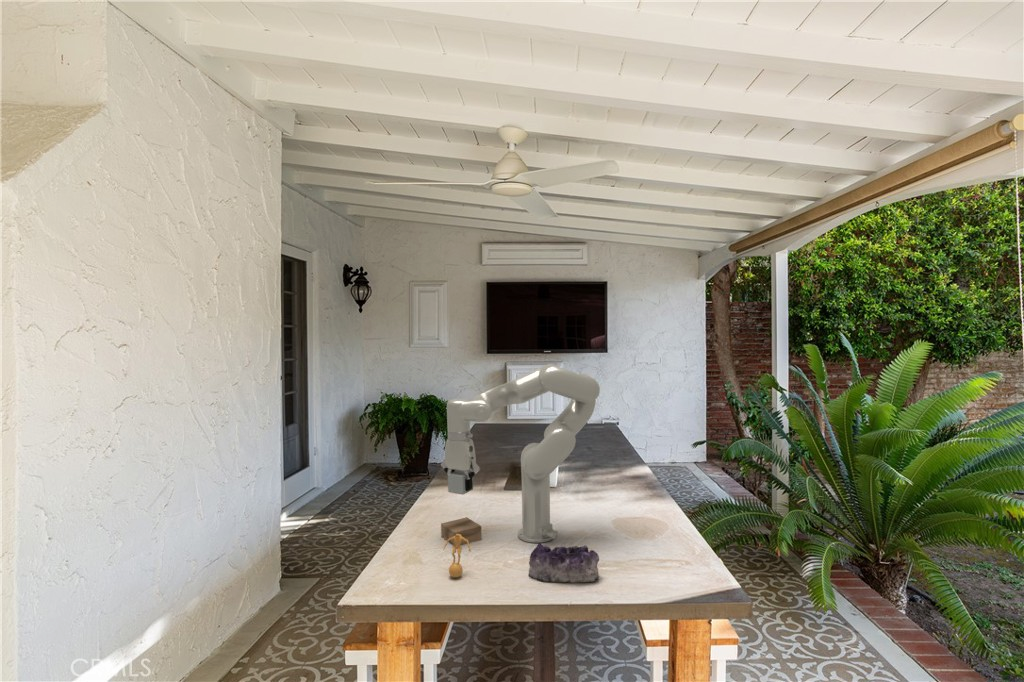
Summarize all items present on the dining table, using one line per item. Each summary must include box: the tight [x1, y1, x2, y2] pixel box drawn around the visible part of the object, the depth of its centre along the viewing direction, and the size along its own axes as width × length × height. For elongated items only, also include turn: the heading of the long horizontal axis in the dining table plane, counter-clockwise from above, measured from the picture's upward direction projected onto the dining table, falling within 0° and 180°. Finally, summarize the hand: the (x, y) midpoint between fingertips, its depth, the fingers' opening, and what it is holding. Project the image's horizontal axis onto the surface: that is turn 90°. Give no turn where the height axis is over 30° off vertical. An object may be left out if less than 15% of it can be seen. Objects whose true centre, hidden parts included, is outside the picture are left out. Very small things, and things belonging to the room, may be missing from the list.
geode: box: [528, 542, 600, 584], centre depth 162 cm, size 20×12×10 cm, turn 91°
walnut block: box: [440, 517, 483, 547], centre depth 191 cm, size 10×10×5 cm
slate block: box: [447, 470, 474, 496], centre depth 190 cm, size 6×6×6 cm
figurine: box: [443, 534, 472, 579], centre depth 164 cm, size 8×6×12 cm
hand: (460, 488), depth 190 cm, fingers closed on slate block, 6 cm apart
